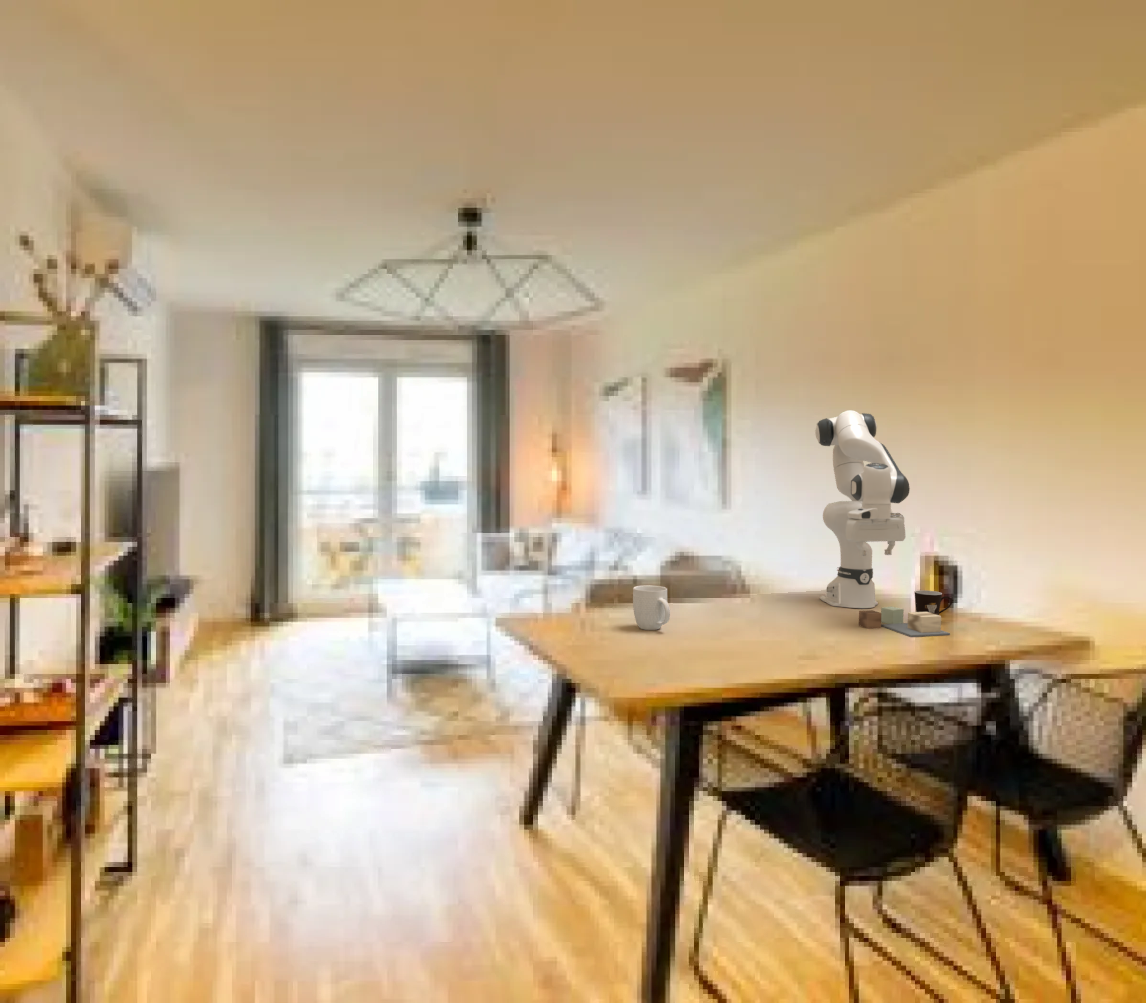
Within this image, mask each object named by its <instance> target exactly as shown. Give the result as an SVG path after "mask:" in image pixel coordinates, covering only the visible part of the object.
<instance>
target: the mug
mask: <svg viewBox="0 0 1146 1003" xmlns="http://www.w3.org/2000/svg"><path fill="white" fill-rule="evenodd" d="M632 590H633V591H632V608H633V615H634V620H635V622H636V625H637V626H638V628H639V629H641V630H645V631H656V630H659V629H661V627H662V626H663V625H666V624H667V623H669V621H670V618H671V609H670V605H669V602H668V587H665V586H660V585H649V584H648V585H647V584H646V585H643V584H642V585H637V586H634V587H633V588H632Z"/></svg>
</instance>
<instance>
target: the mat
mask: <svg viewBox="0 0 1146 1003" xmlns="http://www.w3.org/2000/svg"><path fill="white" fill-rule="evenodd" d="M881 628H884V629H888V630H891V631H893V632H896V633H899V634H901V635H905V636H907V637H910V638H919V637H921V638H922V637H939V636H941V637H943V636H950V635H951V632H948V631H944V630H942V629H941V632H924V633H921V632H918V631H915V630H912V629H909V628H908V622H905V623H904V622H903V623H898V624H887V623H881Z"/></svg>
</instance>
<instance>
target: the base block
mask: <svg viewBox="0 0 1146 1003" xmlns="http://www.w3.org/2000/svg"><path fill="white" fill-rule="evenodd" d="M907 623H908V628H909V629H912V630H915V631H918V632H921V633H924V632H941V630H942V629H941V628H942V616H941V615H940V614H939V615H936V614H933V613H929V612H916V611H914V612H907Z"/></svg>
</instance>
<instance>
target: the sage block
mask: <svg viewBox="0 0 1146 1003" xmlns="http://www.w3.org/2000/svg"><path fill="white" fill-rule="evenodd" d="M904 611H905V609H904V608H900V607H896V606H883V607H881V608H880V613H882V614H881V624H898V623H904Z"/></svg>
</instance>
